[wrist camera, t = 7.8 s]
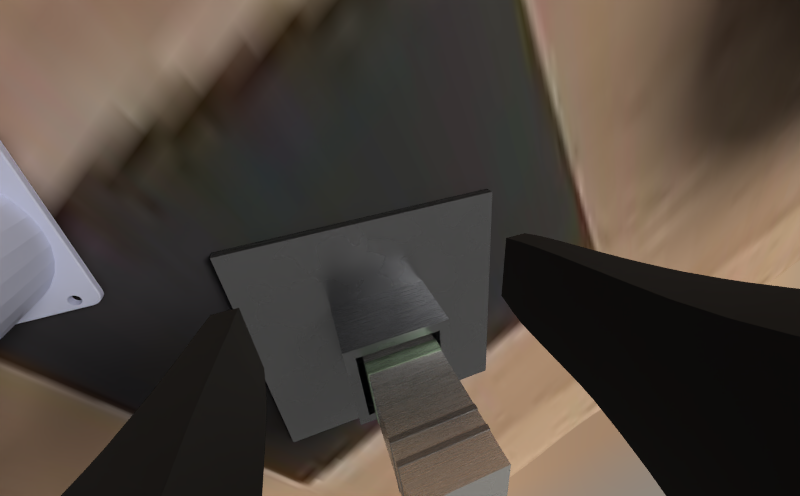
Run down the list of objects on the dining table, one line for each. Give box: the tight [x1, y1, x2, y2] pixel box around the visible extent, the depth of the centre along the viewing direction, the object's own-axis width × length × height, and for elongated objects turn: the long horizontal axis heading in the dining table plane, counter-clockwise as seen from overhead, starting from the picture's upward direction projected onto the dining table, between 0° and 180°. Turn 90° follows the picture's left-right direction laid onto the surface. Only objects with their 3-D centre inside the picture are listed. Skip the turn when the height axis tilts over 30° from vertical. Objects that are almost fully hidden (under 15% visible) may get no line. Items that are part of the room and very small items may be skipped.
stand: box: [210, 189, 492, 442], centre depth 21 cm, size 16×16×5 cm
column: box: [362, 334, 511, 496], centre depth 17 cm, size 4×4×8 cm
